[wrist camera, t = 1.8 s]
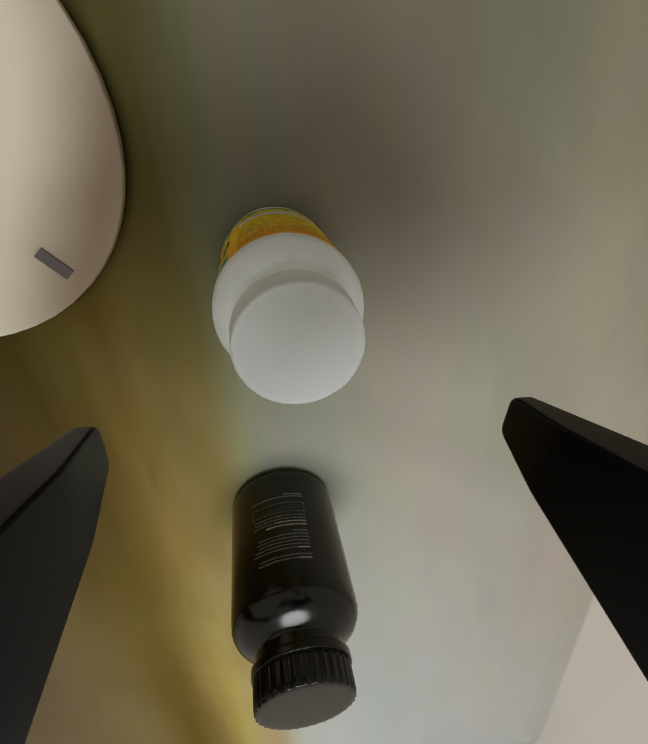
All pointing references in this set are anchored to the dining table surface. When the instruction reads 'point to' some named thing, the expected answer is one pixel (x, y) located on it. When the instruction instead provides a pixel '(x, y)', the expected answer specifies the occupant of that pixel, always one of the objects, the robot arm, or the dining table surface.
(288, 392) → the supplement bottle
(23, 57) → the turntable
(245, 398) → the dining table surface
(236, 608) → the supplement bottle
